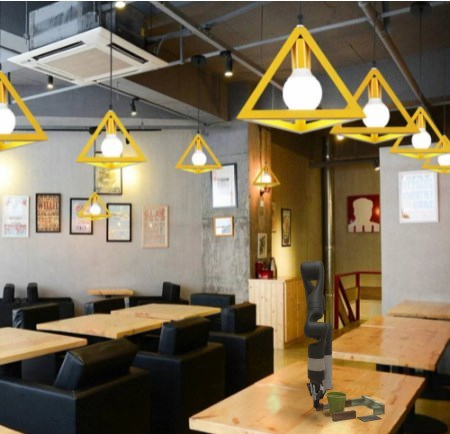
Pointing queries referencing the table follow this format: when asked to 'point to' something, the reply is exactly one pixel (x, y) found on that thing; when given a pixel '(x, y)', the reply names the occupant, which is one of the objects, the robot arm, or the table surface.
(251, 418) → the table surface
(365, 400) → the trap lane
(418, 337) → the table surface
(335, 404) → the plant pot
